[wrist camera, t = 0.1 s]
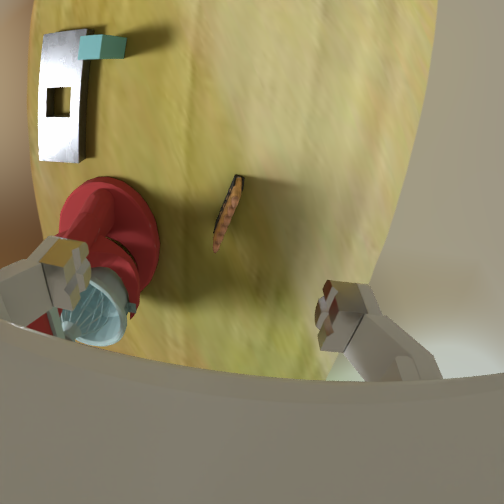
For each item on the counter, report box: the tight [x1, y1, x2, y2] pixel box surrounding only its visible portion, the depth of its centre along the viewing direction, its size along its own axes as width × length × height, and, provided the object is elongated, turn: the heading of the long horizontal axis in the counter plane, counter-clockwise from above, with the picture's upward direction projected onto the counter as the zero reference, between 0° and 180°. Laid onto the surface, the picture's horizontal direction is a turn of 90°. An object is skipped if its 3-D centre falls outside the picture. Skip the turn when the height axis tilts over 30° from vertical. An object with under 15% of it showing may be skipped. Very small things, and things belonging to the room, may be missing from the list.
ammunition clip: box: [213, 175, 244, 253], centre depth 55 cm, size 11×2×12 cm, turn 157°
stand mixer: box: [17, 177, 160, 346], centre depth 48 cm, size 24×32×40 cm
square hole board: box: [38, 29, 94, 163], centre depth 47 cm, size 26×10×3 cm, turn 170°
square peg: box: [78, 34, 127, 60], centre depth 40 cm, size 4×4×10 cm
